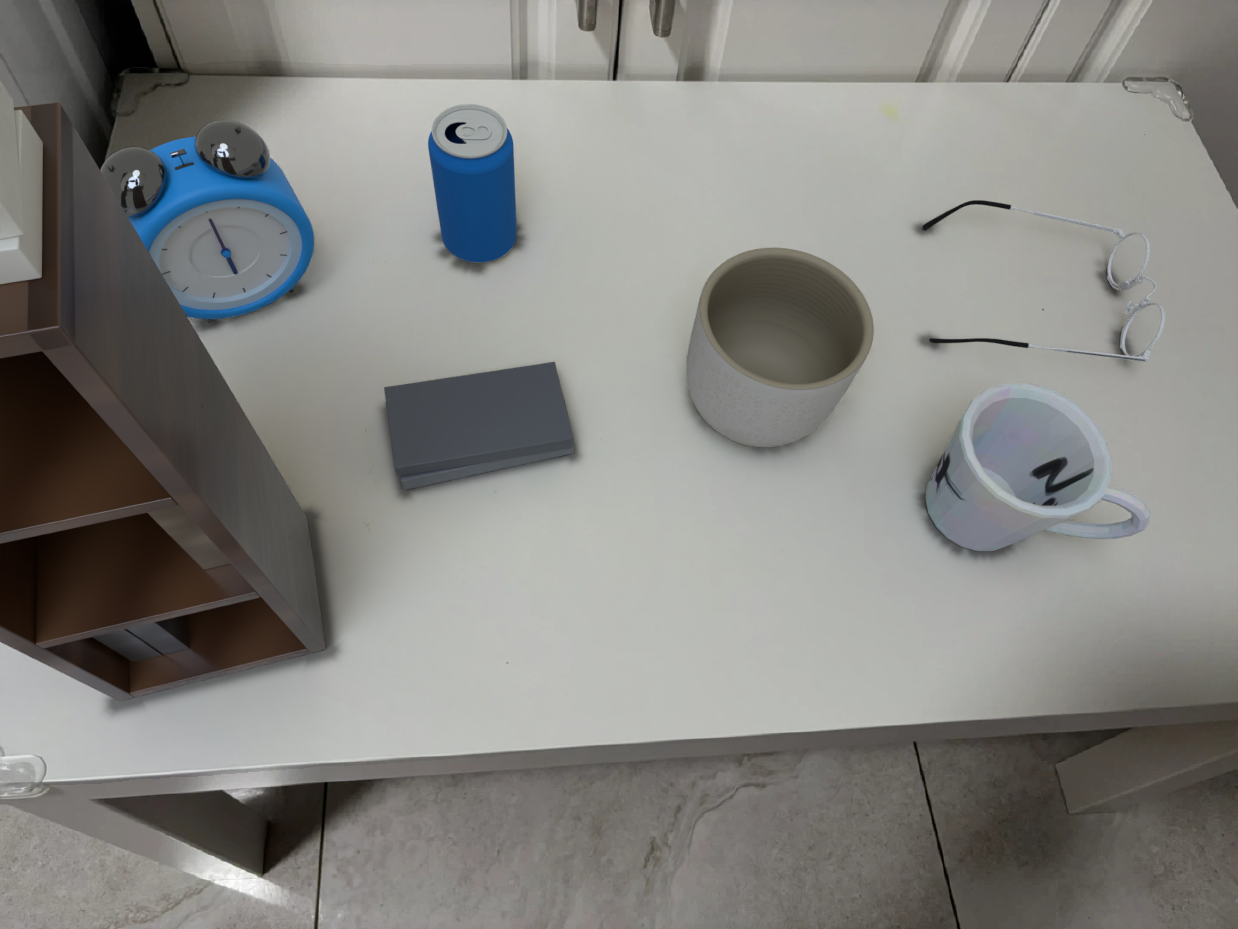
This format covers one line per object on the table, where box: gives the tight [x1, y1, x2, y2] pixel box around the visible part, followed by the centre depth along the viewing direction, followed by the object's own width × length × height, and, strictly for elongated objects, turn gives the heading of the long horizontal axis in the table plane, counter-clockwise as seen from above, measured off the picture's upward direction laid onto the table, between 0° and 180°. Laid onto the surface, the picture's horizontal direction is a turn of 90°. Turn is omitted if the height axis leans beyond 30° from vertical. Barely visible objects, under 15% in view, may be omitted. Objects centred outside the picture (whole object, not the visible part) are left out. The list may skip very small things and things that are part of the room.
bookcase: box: [0, 101, 327, 702], centre depth 43 cm, size 13×10×36 cm
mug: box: [925, 382, 1152, 552], centre depth 62 cm, size 10×15×10 cm
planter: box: [685, 247, 875, 448], centre depth 65 cm, size 12×12×11 cm
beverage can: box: [427, 103, 518, 264], centre depth 70 cm, size 6×6×12 cm
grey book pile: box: [383, 361, 575, 491], centre depth 65 cm, size 13×8×3 cm, turn 106°
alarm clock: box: [99, 119, 315, 324], centre depth 64 cm, size 13×6×15 cm, turn 120°
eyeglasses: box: [922, 199, 1166, 363], centre depth 75 cm, size 16×19×5 cm
